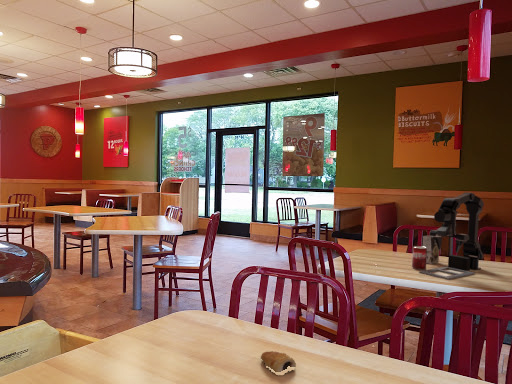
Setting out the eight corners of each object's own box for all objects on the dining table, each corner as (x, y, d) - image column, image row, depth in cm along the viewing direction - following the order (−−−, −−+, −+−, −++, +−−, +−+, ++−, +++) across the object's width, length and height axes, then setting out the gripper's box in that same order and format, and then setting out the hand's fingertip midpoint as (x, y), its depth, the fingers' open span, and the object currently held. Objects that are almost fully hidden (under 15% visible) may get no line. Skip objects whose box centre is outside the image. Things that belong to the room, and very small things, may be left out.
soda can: (425, 270, 209) (426, 249, 208) (410, 268, 213) (411, 247, 212) (427, 268, 215) (428, 247, 215) (413, 266, 219) (414, 245, 218)
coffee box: (431, 264, 227) (433, 237, 227) (421, 262, 232) (422, 235, 232) (439, 262, 233) (440, 236, 233) (428, 260, 238) (430, 234, 238)
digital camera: (471, 270, 216) (471, 257, 216) (466, 271, 213) (467, 258, 213) (452, 266, 224) (453, 254, 224) (447, 267, 221) (448, 255, 221)
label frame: (445, 267, 219) (445, 266, 219) (474, 274, 205) (474, 272, 205) (419, 272, 204) (419, 271, 204) (448, 279, 191) (448, 278, 191)
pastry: (253, 362, 97) (254, 347, 97) (274, 356, 101) (275, 342, 101) (277, 378, 90) (278, 362, 90) (299, 371, 94) (299, 355, 94)
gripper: (424, 220, 207) (422, 249, 207) (459, 224, 191) (457, 255, 192) (436, 220, 213) (434, 248, 213) (470, 224, 198) (468, 254, 198)
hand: (447, 251), depth 204 cm, fingers open, 9 cm apart
